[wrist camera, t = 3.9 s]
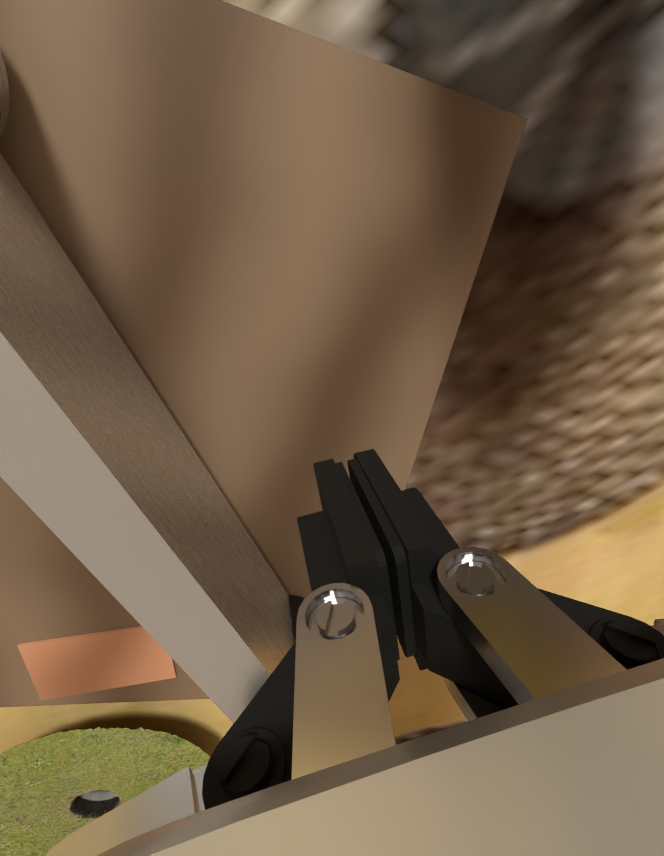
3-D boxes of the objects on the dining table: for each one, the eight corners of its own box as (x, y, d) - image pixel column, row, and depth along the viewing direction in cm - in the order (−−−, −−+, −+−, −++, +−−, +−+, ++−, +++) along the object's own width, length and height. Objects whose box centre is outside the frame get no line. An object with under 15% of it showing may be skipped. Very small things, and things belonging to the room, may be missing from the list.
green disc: (126, 647, 18) (113, 691, 16) (265, 756, 23) (267, 799, 21) (-89, 769, 18) (-124, 825, 17) (93, 851, 23) (81, 900, 22)
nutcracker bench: (497, 131, 13) (636, 70, 8) (332, 664, 21) (356, 779, 16) (-379, -190, 8) (-1252, -797, 3) (-143, 674, 16) (-295, 844, 11)
